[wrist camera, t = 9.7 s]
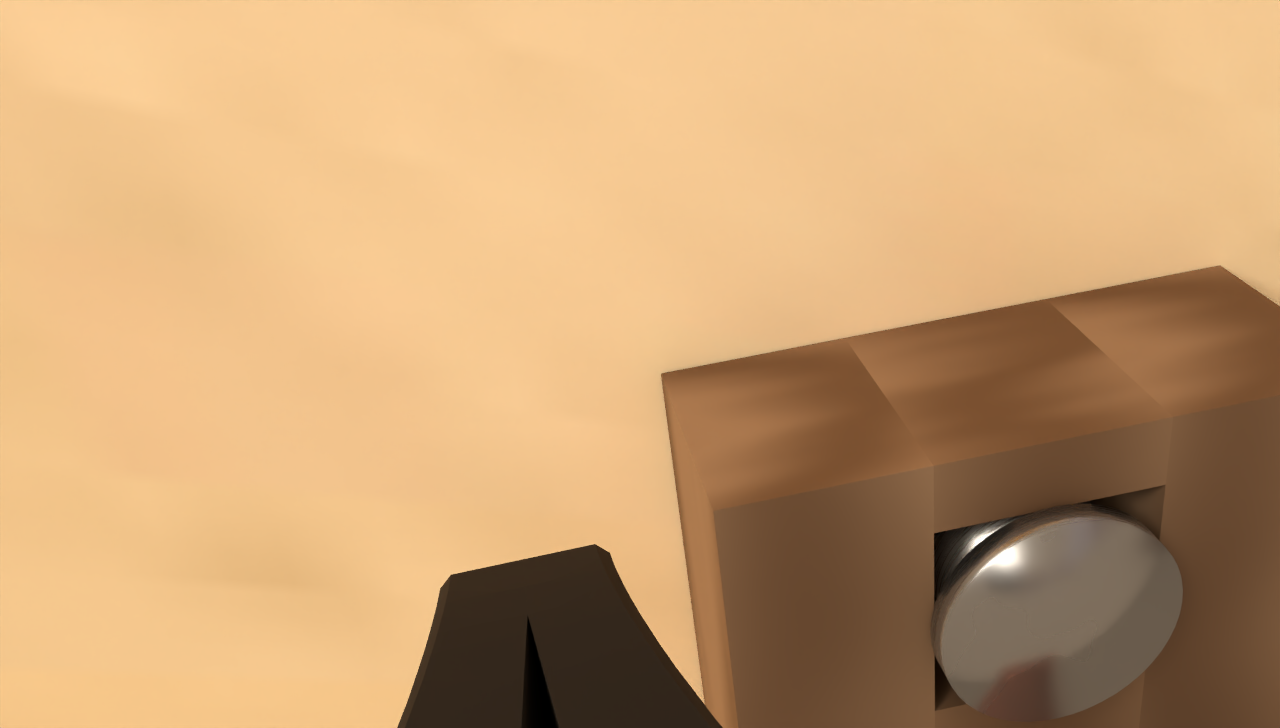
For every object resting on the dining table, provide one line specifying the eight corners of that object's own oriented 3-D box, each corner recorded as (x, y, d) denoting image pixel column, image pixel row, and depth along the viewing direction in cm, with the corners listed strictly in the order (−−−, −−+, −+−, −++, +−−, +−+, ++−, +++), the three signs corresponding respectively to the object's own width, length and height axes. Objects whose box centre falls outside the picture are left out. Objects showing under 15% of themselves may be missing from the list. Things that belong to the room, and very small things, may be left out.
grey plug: (1064, 369, 21) (1195, 500, 17) (1054, 543, 23) (1170, 692, 19) (852, 411, 21) (942, 554, 17) (860, 584, 22) (942, 743, 19)
